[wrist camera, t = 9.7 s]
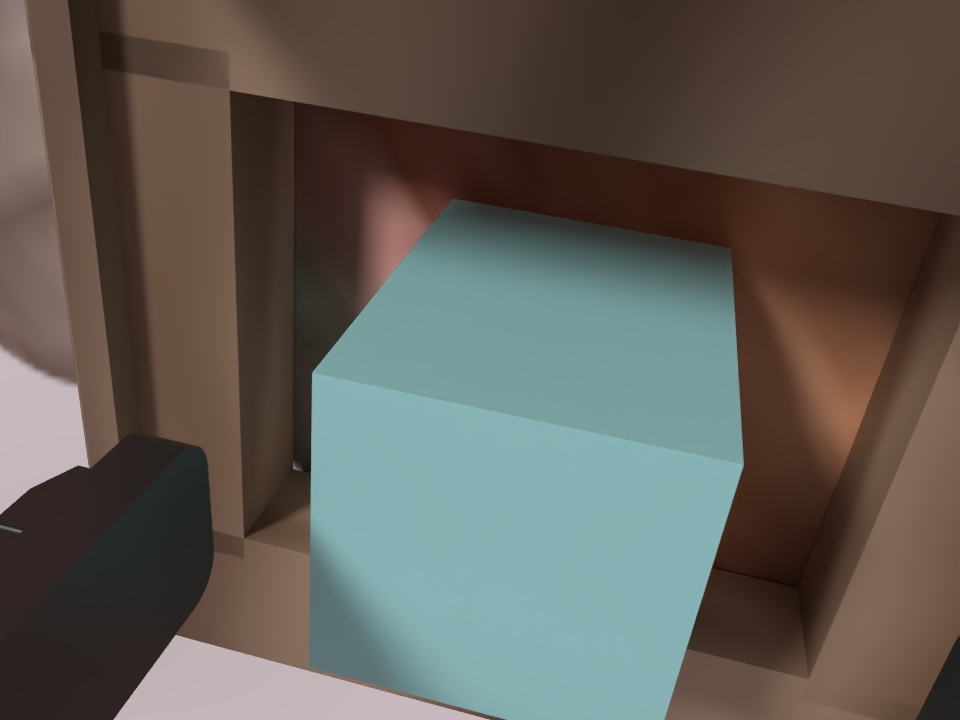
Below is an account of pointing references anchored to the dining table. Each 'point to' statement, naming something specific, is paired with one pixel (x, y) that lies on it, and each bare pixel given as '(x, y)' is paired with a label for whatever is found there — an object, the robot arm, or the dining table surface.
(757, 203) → the dining table surface
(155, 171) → the brown flat frame
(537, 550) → the block
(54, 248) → the dining table surface
